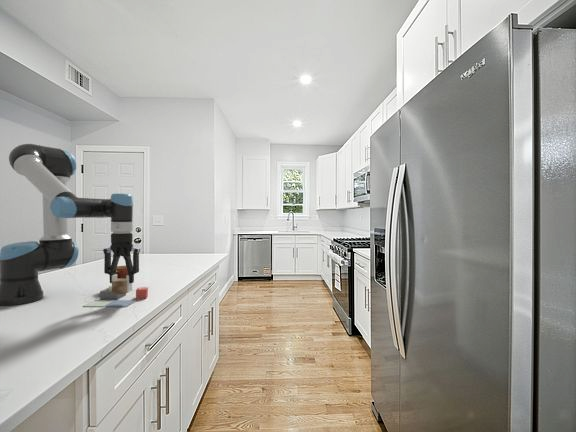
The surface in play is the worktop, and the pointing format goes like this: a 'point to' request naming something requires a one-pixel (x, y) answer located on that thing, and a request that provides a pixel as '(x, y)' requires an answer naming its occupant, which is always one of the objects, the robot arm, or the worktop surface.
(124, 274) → the mug
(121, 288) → the tan wooden cuboid
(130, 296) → the worktop surface
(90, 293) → the worktop surface
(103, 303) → the tile
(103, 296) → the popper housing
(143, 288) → the die
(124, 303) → the tile
